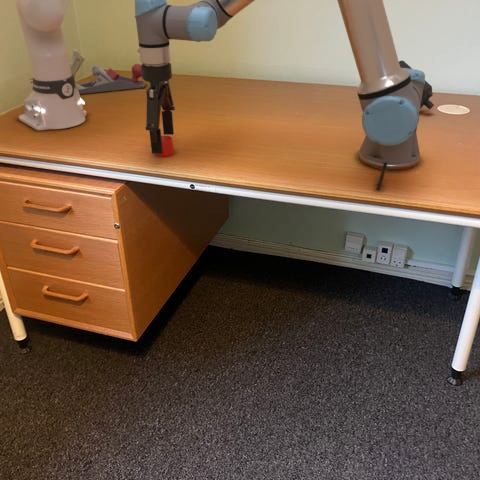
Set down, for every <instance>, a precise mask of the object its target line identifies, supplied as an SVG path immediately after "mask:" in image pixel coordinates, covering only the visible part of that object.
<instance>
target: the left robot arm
mask: <svg viewBox="0 0 480 480" xmlns="http://www.w3.org/2000/svg"><path fill="white" fill-rule="evenodd" d="M69 3H70V0H15V7H16V10H17V15H18V19H19V23H20V27H21V31H22V34H23V38H24V41H25V46H26V48H27V53H28V58H29V61H30V67H31V71H32V75H33V78H30V79H29V81H30V83H31V84H32V91H31V92H30V93H29V94H28V96H27V97H26V98H25V99H24V101H23V109H24V113H22V114H20V115H19V116H18V120H19V121H20V122H22V123H23V124H25V125H27V126H28V127H30V128H32V129H34V130H35V131H47V130H63V129H68V128H73V127H76V126H79V125H82V124H83V123H84V122H86V120H87V119H86V116H88V112H87V110H85V109H84V106H83V105H85V101H84V100H83V99H82V98H81V94H79V91H78V90H77V89H75V87H76V85H75V82H76V79H75V78H74V75H73V74H72V72H71V66H70V63H71V62H70V55H69V51H68V47H67V44H66V39H65V36H64V33H63V29H62V24H63V22H64V17H65V14H66V12H67V8H68V4H69Z"/></svg>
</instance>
